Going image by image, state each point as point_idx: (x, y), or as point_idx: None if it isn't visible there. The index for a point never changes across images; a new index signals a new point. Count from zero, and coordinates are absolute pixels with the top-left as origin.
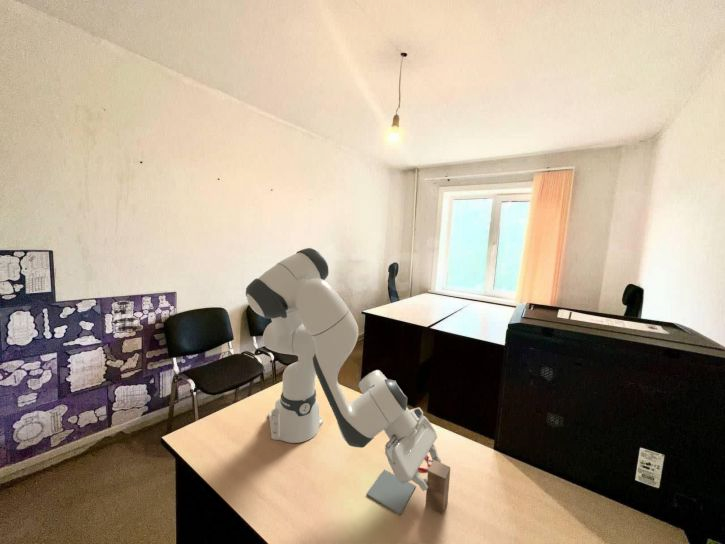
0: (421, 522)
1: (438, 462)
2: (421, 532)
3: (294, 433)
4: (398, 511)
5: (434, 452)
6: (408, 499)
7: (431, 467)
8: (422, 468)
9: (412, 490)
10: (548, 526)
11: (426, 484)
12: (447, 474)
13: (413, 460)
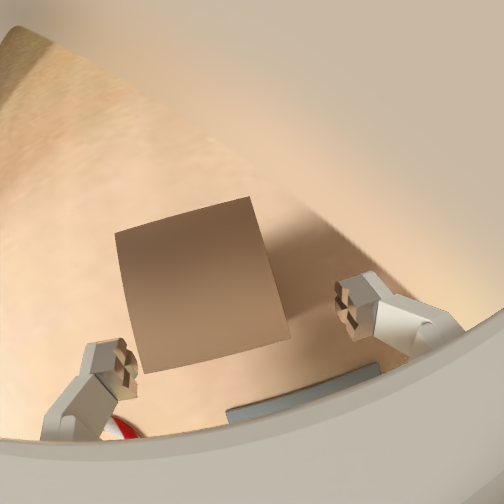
0: (336, 295)
1: (139, 327)
2: (363, 272)
3: None
4: (376, 373)
5: (80, 404)
6: (303, 390)
7: (237, 337)
8: (127, 438)
9: (258, 406)
10: (71, 77)
11: (367, 282)
12: (191, 213)
13: (493, 394)
